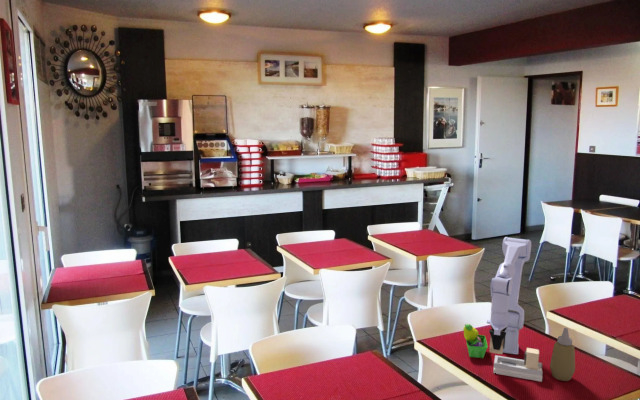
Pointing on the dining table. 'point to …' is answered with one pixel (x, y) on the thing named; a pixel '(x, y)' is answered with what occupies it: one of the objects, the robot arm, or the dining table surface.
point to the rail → (520, 366)
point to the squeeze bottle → (563, 358)
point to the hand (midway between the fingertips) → (497, 346)
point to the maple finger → (500, 348)
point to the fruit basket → (475, 342)
